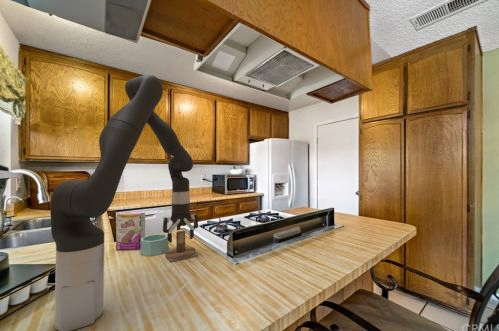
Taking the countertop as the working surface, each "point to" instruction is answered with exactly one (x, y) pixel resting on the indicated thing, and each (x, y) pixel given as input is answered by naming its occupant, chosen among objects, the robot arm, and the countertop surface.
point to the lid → (180, 248)
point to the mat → (182, 259)
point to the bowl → (154, 244)
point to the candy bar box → (130, 230)
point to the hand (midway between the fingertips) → (181, 240)
